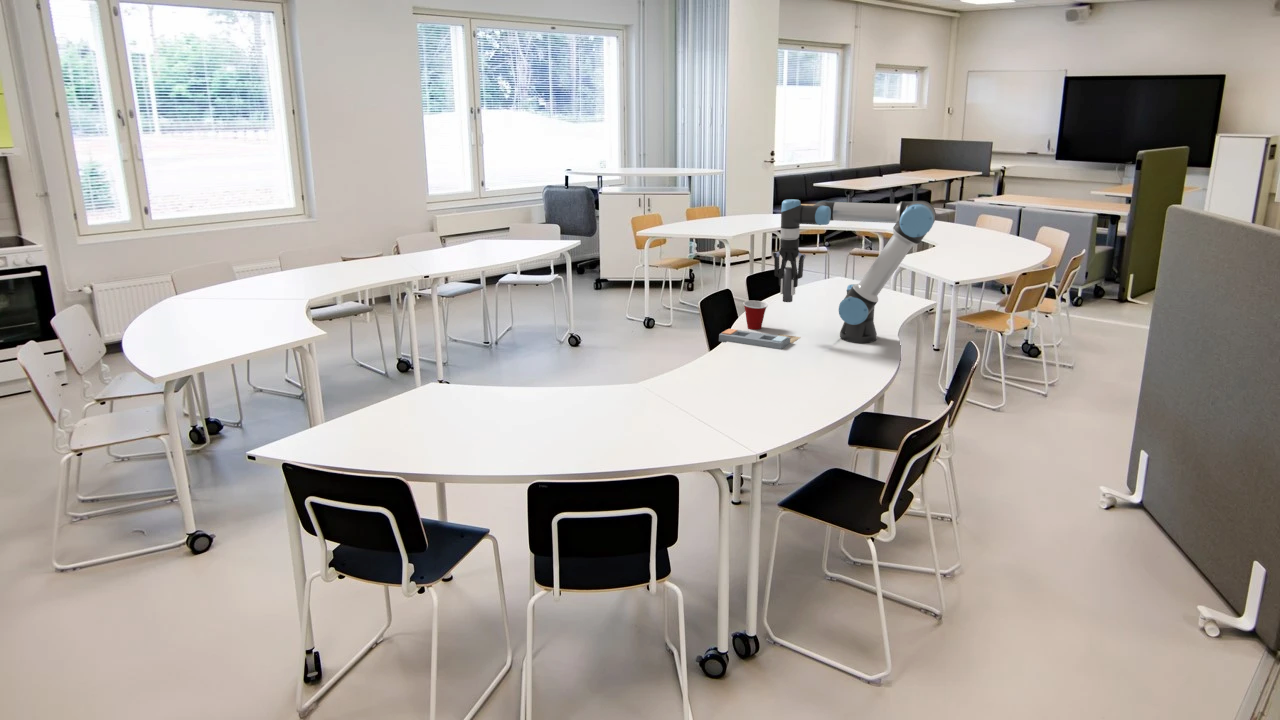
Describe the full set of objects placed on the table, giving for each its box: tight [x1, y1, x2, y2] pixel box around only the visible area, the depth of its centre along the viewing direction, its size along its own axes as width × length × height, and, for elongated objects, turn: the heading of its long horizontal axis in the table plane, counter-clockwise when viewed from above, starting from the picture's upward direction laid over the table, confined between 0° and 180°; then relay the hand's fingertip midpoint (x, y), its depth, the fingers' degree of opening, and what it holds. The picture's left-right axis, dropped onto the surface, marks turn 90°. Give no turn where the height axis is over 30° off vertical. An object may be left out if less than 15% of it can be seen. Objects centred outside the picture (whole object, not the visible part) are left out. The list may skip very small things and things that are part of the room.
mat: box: [776, 333, 801, 344], centre depth 350 cm, size 10×10×1 cm
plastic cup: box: [742, 300, 769, 331], centre depth 364 cm, size 11×11×12 cm
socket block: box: [718, 328, 791, 350], centre depth 346 cm, size 28×10×4 cm, turn 59°
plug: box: [782, 266, 794, 303], centre depth 342 cm, size 4×4×14 cm
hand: (787, 293), depth 343 cm, fingers closed on plug, 4 cm apart
